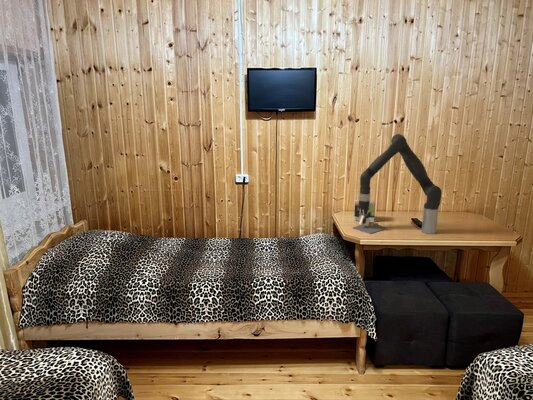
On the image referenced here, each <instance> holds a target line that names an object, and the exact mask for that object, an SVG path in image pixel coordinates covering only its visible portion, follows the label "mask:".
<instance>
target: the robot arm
mask: <svg viewBox="0 0 533 400" xmlns="http://www.w3.org/2000/svg"><path fill="white" fill-rule="evenodd" d="M407 141H408V140H407V139H406V137H405V136H404V135H402V134H401V133H400V134H399V133H398V134H394V135H393V136H391V140H390V142H391V143H390V145H389V146H388V148H387V149H386V150H385V151H383V153H381V154H380V155H378V157H376V158H375V159H374V161H372V162H371V164H370V165H369V166H368V167H367V168H366V169H365V170H364V171H363V172H362V173H361V174H360V179H359V183H360V184H359V185H360V186H359V195H358V200H359V207H358V208H356V209H355V208H354V210H356V213H357V216H359V217H360V218H361V215H362V216H363V224H365V223H366V218H369V217H370V215H371V213H372V212H370V211H369V204H370V200H371V180H372V178H374V176H375V175H376V174H377V173H378V172H380V170H381V169H382V168H383V167H384V166H385V165H386V164H387V163H388V162H389V161H390V160H391V159H392V158H393V157H395V156H396V155H397V154H399V155H400V156H401V158H402V160H403V162H404V164H405V166H406V167H407V169H408V170H409V172H410V174H411V175H412V176H413V178H415V180H416V181H417V182H418V184H419V186H420V187H421V189H422V192H423V193H424V195H425V196H426V202H425V203H424V204H423V213H422V221H421V222H422V223H421V232H422V233H424V234H429V235H432V234H433V235H434V234H436V233H437V227H438V217H439V216H438V215H439V209H440V208H439V207H440V205H441V200H442V192H443V191H442V189H441V188H440V186H438V185H436V184H435V183H434V182H433V181H432V180H431V178H430V177H429V175H428V172H427V170H426V167H425V166H424V163H422V161H421V159H420V158H419V157H418V156H417V155H416V153H415V152H414V151H413V150H412V149H411V147H410V145H409V143H408V142H407ZM367 212H368V214H367Z"/></svg>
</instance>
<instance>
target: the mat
mask: <svg viewBox="0 0 533 400" xmlns="http://www.w3.org/2000/svg"><path fill="white" fill-rule="evenodd" d="M352 229H354V230H357V231H360V232H363V233H366V234H369V235H372V234H375V233H378V232H382V231H384V230H388V229H389V227H387V226H384V225H380V224H378V225H376V226H372V227H371V226H370V225H368V226H365V225H362V224H359V225H356V226H353V227H352Z"/></svg>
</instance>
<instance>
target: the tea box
mask: <svg viewBox="0 0 533 400" xmlns="http://www.w3.org/2000/svg"><path fill="white" fill-rule="evenodd" d="M358 207H359V199H354V210H353V211H354V215H353V217H354V219H353V221H354V222H359V221H360V217H359V216H357V213H356V210H355V209H356V208H358ZM369 211H370V212H372V213H371V215H370V217H369V218H370V221H374V222H375V216H376V215H375V211H376V202H375V200H371V199H370V204H369ZM367 214H368V212H367Z"/></svg>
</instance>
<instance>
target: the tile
mask: <svg viewBox="0 0 533 400" xmlns="http://www.w3.org/2000/svg"><path fill="white" fill-rule="evenodd" d="M369 222H370V218H366V223H365V224H363V216H362V215H361V218H360V221H358V224H359V225H365V226H368V225H369Z"/></svg>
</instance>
